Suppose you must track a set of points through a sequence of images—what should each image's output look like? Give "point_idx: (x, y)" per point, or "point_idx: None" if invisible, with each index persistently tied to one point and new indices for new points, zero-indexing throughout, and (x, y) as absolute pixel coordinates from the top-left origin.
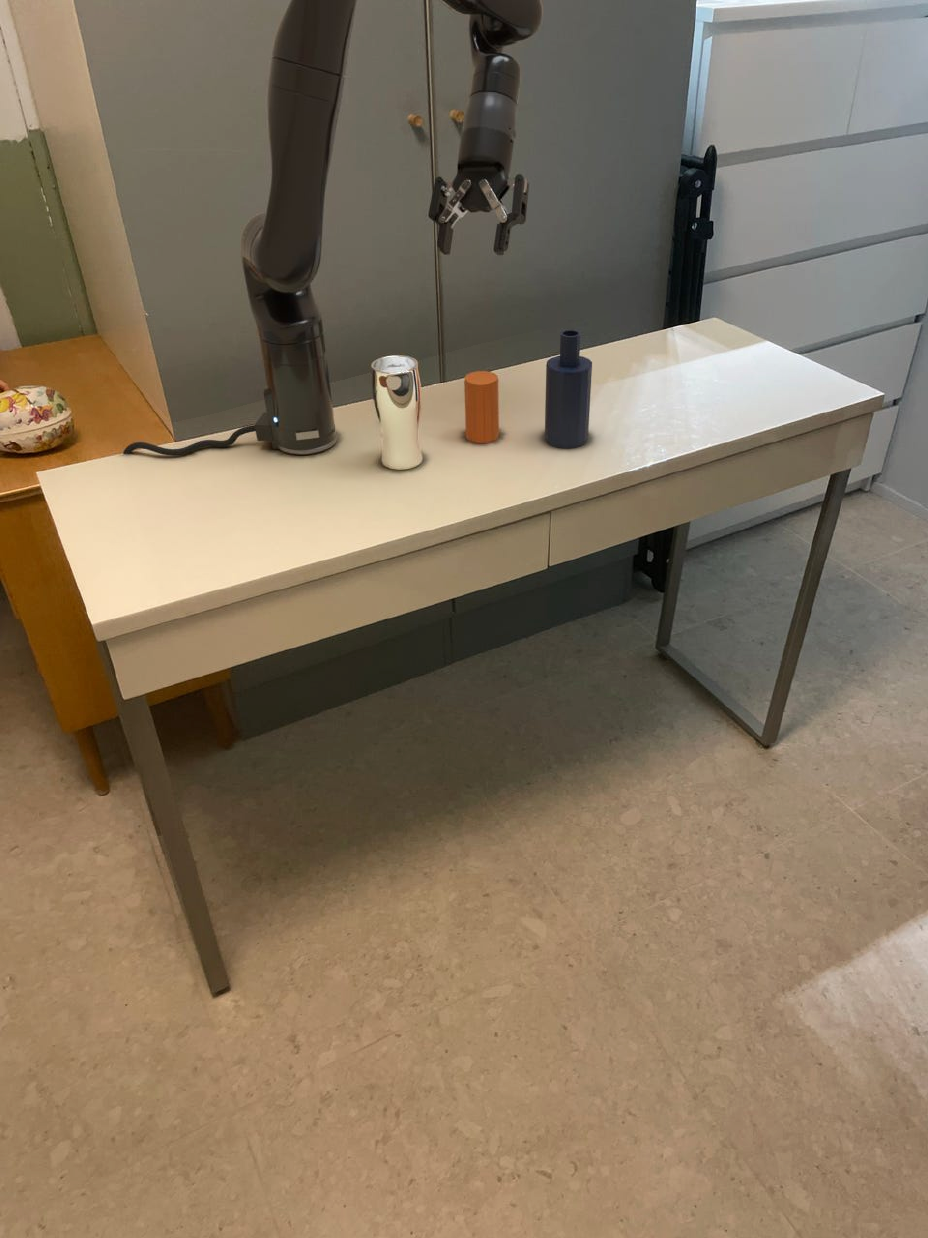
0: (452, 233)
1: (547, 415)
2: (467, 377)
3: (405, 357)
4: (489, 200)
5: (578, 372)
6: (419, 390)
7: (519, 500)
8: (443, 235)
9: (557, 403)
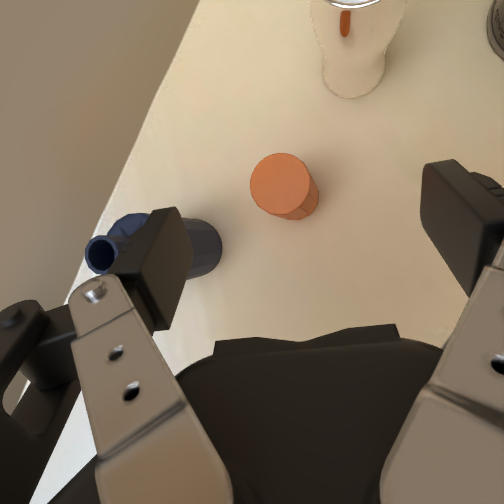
0: (460, 280)
1: (195, 223)
2: (301, 170)
3: (364, 2)
4: (144, 346)
5: (111, 228)
6: (310, 13)
7: (168, 80)
8: (465, 187)
9: None
